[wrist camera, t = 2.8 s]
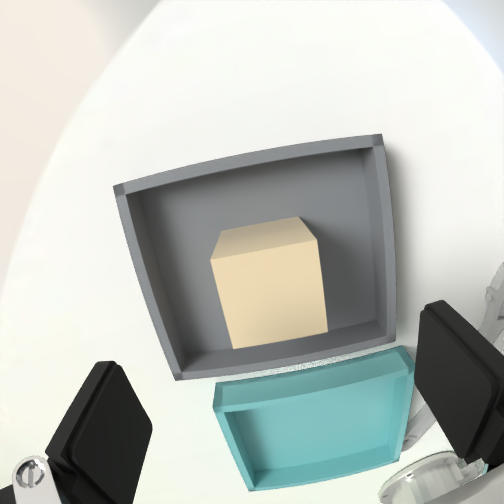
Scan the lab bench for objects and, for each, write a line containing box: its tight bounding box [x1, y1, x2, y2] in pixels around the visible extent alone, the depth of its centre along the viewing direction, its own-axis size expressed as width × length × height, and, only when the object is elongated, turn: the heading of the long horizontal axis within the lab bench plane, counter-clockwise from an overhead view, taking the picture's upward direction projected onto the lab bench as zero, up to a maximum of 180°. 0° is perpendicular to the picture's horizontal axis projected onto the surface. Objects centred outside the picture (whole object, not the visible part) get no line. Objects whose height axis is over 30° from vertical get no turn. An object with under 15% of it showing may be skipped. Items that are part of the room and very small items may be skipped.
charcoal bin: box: [113, 134, 396, 381], centre depth 20 cm, size 16×14×3 cm
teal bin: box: [213, 346, 415, 491], centre depth 25 cm, size 16×14×3 cm
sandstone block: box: [210, 217, 328, 349], centre depth 18 cm, size 5×5×6 cm
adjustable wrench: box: [401, 262, 504, 452], centre depth 24 cm, size 25×6×2 cm, turn 152°
